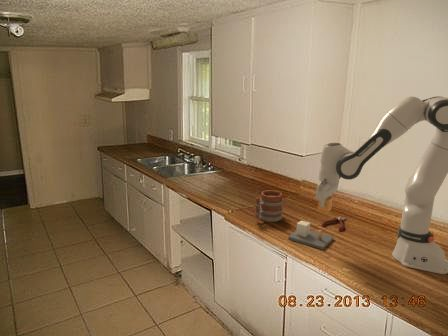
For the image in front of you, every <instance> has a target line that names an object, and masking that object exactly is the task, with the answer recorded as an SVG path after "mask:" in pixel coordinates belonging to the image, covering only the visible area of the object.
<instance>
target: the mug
mask: <svg viewBox="0 0 448 336" xmlns="http://www.w3.org/2000/svg"><path fill="white" fill-rule="evenodd" d="M283 203H284V200H283V193H282V191H279V190H275V189H274V190H270V189H268V190H267V189H266V190H263V191H262V192H261V195H260V198H259V197H256V198H255V205H254V206H255V211H254V216H255V218H256V219H261V220H262V221H263V222H264V221H265V222H272V223H276V222H280V221H281V220H282V219H283V217H284V216H283V214H282V213H283V207H282V205H283Z"/></svg>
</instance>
